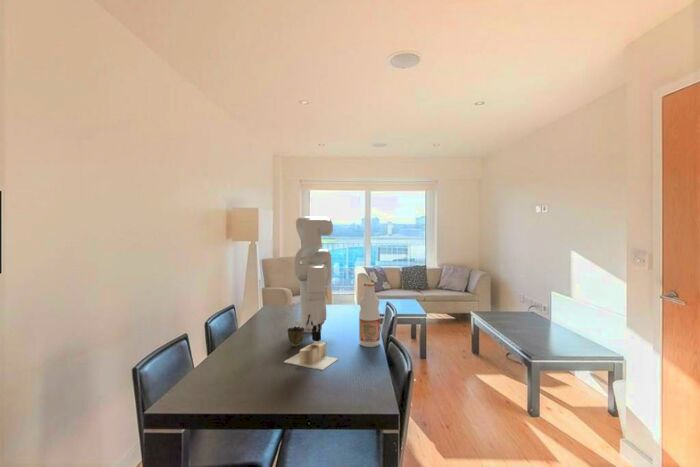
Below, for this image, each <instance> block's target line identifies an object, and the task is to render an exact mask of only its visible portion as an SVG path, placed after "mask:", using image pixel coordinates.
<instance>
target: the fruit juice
mask: <svg viewBox="0 0 700 467" xmlns="http://www.w3.org/2000/svg"><path fill="white" fill-rule="evenodd" d="M375 285H376V284H375V282H364V283H363V288H364V290H363V293H362V296H361V297H360V299H359V307H360V310H359V314H358V316H359V317H358V319H359V320H358V322H359V324H358V325H359V326H358V327H359V329H358V330H359V331H358V332H359V334H358V336H359V341H358V342H359V345H360V346H361V347H366V348H375V347H378V346H379V345H380V343H381V335H380V334H381V332H380V331H381V326H380V325H381V320H380V319H381V316H380V314H381V313H380V310H379V308H380V299H379V298H378V296H377V295H376V292H375V287H376V286H375Z"/></svg>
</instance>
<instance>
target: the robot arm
mask: <svg viewBox="0 0 700 467" xmlns="http://www.w3.org/2000/svg"><path fill="white" fill-rule="evenodd" d="M295 227H296V231H297V234H298V237H299V239H300V248H299V249H298V250H297V252H296V254H295V255H294V259H293V260H294V262H293V266H294V268H293V269H294V270H293V272H294V278H295V280H296V281H298V285H299V296H300V297H299V299H300V300H299V301H300V303H299V306H300V310H299V311H300V313H299V315H300V319H295V322H294V325H297V326H298V327H299V328H302V327H303V328H304V334H305V333H311V340H312V341H313V342H316V341H318V342H321V341H322V326H323V325H324V324H325V321H326V320H327V304H326V288H329V287H331V285H332V282H333V281H332V278H333V277H332V271H333V270H332V254H331V251H330V250H329V249H325V248H322V246H323V242H322V237H329V236H331V235H332V234H333V231H334V225H333V222H332V219H330V217H329V216H301V217H299V218H297V219H296V220H295Z"/></svg>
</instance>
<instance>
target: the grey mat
mask: <svg viewBox="0 0 700 467" xmlns="http://www.w3.org/2000/svg"><path fill="white" fill-rule="evenodd" d="M338 360H339V358H337V357H331V356H327V355H325V356H324V357H322V358H321V359H319V360H317V361H316V362H314V363H313V364H311V365H308V364H303V363H300V352H298V353H296V354H295V355H292V356H291V357H289V358H288V359H286V360H284V361H283V363H284V364H288V365H289V364H291V365H293V366H298V367H299V366H300V367H305V368H309V369H312V370H313V369H314V370H318V371H319V370H320V371H324V370H326V369H327V368H329V367H330V366H332V365H333V364H334V363H335V362H338Z"/></svg>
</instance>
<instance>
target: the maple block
mask: <svg viewBox="0 0 700 467" xmlns="http://www.w3.org/2000/svg"><path fill="white" fill-rule="evenodd" d="M299 353H300V363H303V364H308V365H311V364H313V363H314V362H316V361H317V360H319V359H321V358H322V357H324V356H327V342H323V341H313V342H312V343H310V344H308V345H306V346H304V347H303V348H301V349H299Z"/></svg>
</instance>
